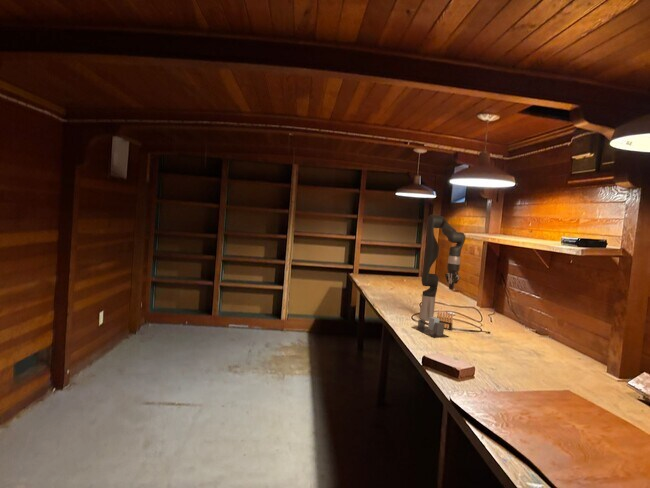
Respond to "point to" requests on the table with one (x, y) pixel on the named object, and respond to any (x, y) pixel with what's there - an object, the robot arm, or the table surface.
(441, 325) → the dark grey mounting base
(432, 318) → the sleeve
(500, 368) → the table surface
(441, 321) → the ammunition clip
